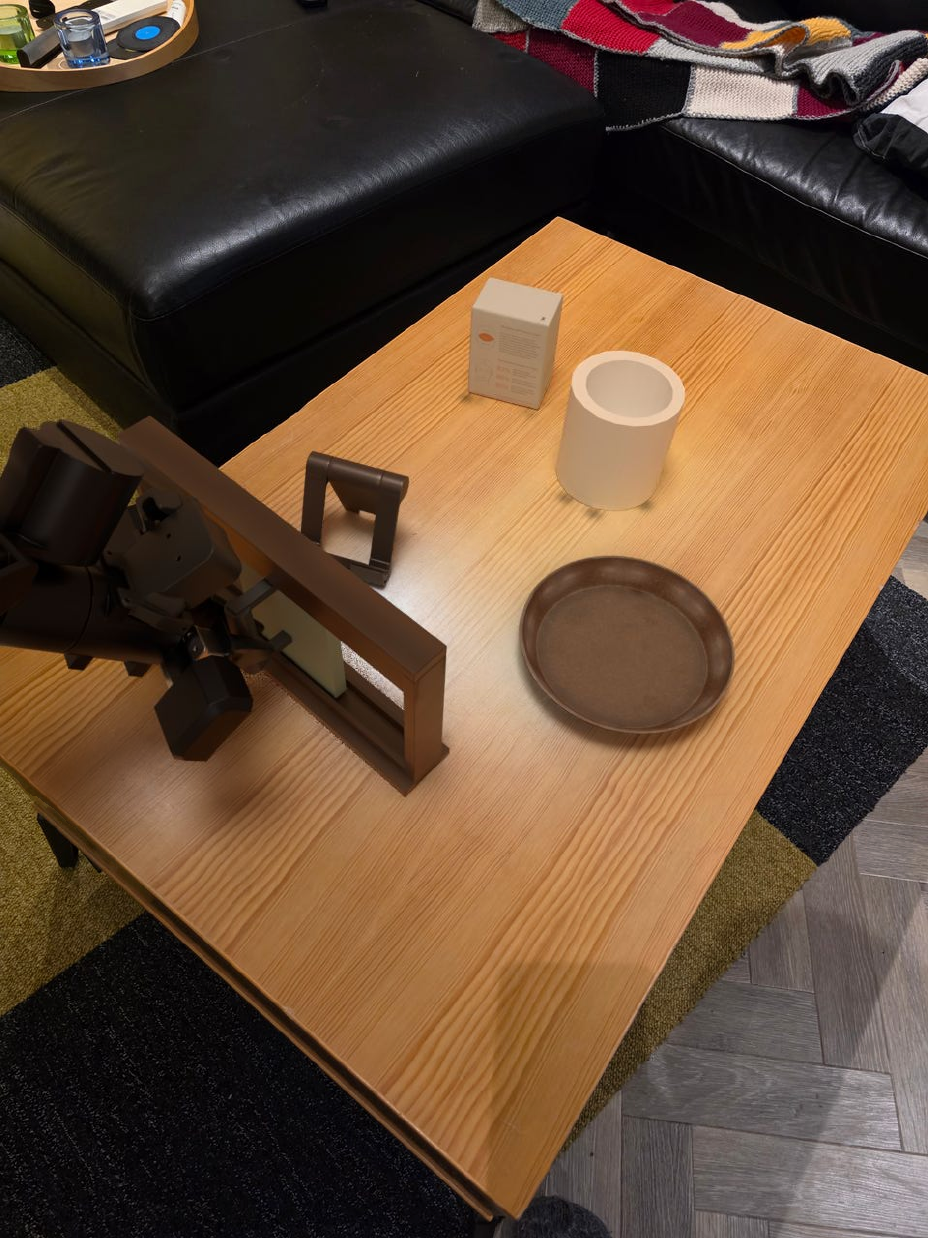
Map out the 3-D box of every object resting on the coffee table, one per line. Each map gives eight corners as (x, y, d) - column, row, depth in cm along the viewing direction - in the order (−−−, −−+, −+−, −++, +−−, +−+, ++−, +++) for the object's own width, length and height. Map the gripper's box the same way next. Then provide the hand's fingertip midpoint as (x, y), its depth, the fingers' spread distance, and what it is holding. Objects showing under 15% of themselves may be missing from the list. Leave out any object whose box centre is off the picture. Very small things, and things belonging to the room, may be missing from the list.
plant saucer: (616, 544, 81) (623, 522, 79) (767, 670, 74) (779, 650, 72) (472, 643, 74) (474, 622, 72) (624, 794, 67) (632, 776, 64)
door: (294, 735, 67) (273, 649, 57) (210, 659, 71) (177, 566, 61) (347, 689, 70) (336, 599, 60) (263, 618, 73) (240, 522, 64)
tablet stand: (290, 563, 78) (278, 499, 72) (325, 502, 83) (317, 436, 76) (383, 590, 77) (380, 527, 70) (413, 527, 82) (413, 462, 75)
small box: (552, 379, 95) (566, 293, 86) (538, 411, 92) (550, 326, 83) (482, 360, 96) (488, 274, 87) (465, 392, 93) (470, 306, 84)
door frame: (405, 797, 66) (402, 685, 53) (157, 579, 77) (104, 441, 63) (449, 753, 68) (458, 636, 55) (203, 547, 79) (160, 408, 66)
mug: (578, 405, 92) (595, 319, 84) (673, 430, 91) (701, 345, 82) (543, 493, 85) (558, 408, 76) (646, 522, 83) (673, 438, 75)
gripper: (187, 633, 45) (387, 667, 58) (93, 410, 54) (283, 481, 67) (79, 763, 49) (288, 769, 62) (9, 535, 58) (203, 580, 71)
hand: (266, 641), depth 65 cm, fingers closed on door, 2 cm apart
